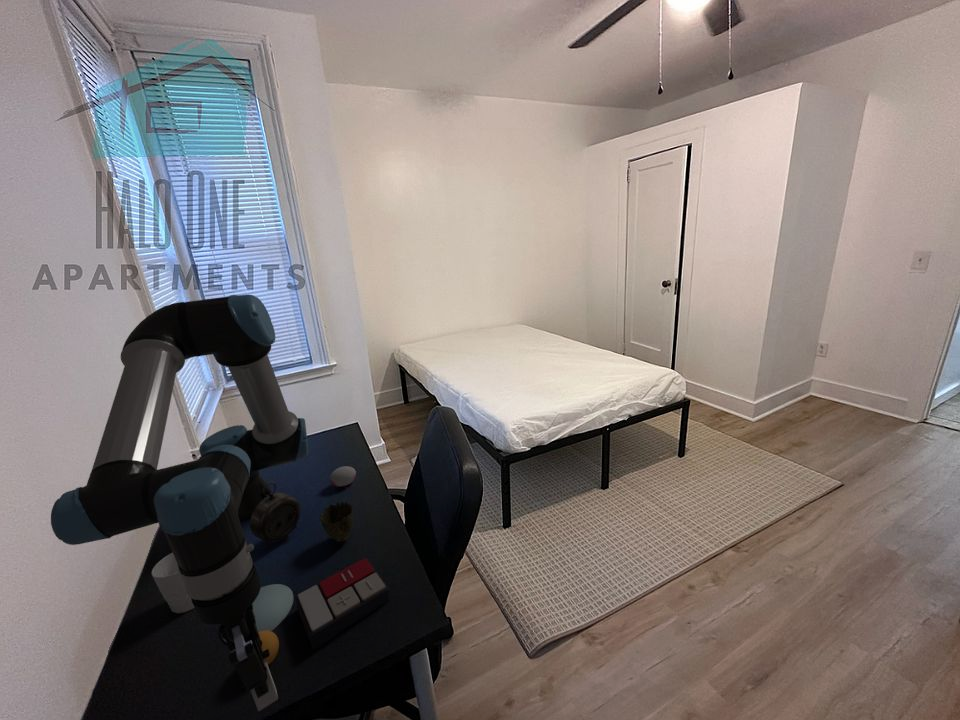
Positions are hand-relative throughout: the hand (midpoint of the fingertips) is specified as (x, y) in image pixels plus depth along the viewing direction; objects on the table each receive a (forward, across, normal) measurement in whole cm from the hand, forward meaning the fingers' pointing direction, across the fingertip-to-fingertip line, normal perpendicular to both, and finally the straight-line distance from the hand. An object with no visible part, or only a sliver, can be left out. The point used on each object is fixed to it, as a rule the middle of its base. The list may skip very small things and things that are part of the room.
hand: (267, 700), depth 60 cm
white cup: (+3, +35, +12) cm, 37 cm away
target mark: (+3, +22, 0) cm, 22 cm away
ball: (0, +10, 0) cm, 10 cm away
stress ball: (+3, +55, -27) cm, 62 cm away
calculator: (+3, +12, -15) cm, 19 cm away
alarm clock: (+3, +42, -8) cm, 42 cm away
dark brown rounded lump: (+3, +31, -20) cm, 37 cm away
